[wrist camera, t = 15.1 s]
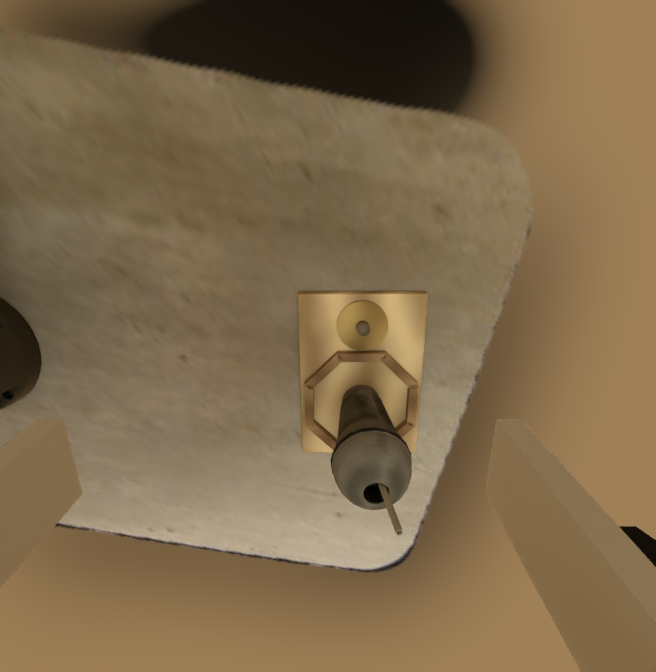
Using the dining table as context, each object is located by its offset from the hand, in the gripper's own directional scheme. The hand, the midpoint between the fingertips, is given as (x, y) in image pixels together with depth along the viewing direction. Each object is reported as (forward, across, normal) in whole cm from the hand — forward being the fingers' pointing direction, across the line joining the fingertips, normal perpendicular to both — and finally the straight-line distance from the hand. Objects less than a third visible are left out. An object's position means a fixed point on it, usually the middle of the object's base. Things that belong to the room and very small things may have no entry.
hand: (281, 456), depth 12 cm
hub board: (+32, +5, -12) cm, 34 cm away
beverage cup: (+31, +5, -14) cm, 34 cm away
